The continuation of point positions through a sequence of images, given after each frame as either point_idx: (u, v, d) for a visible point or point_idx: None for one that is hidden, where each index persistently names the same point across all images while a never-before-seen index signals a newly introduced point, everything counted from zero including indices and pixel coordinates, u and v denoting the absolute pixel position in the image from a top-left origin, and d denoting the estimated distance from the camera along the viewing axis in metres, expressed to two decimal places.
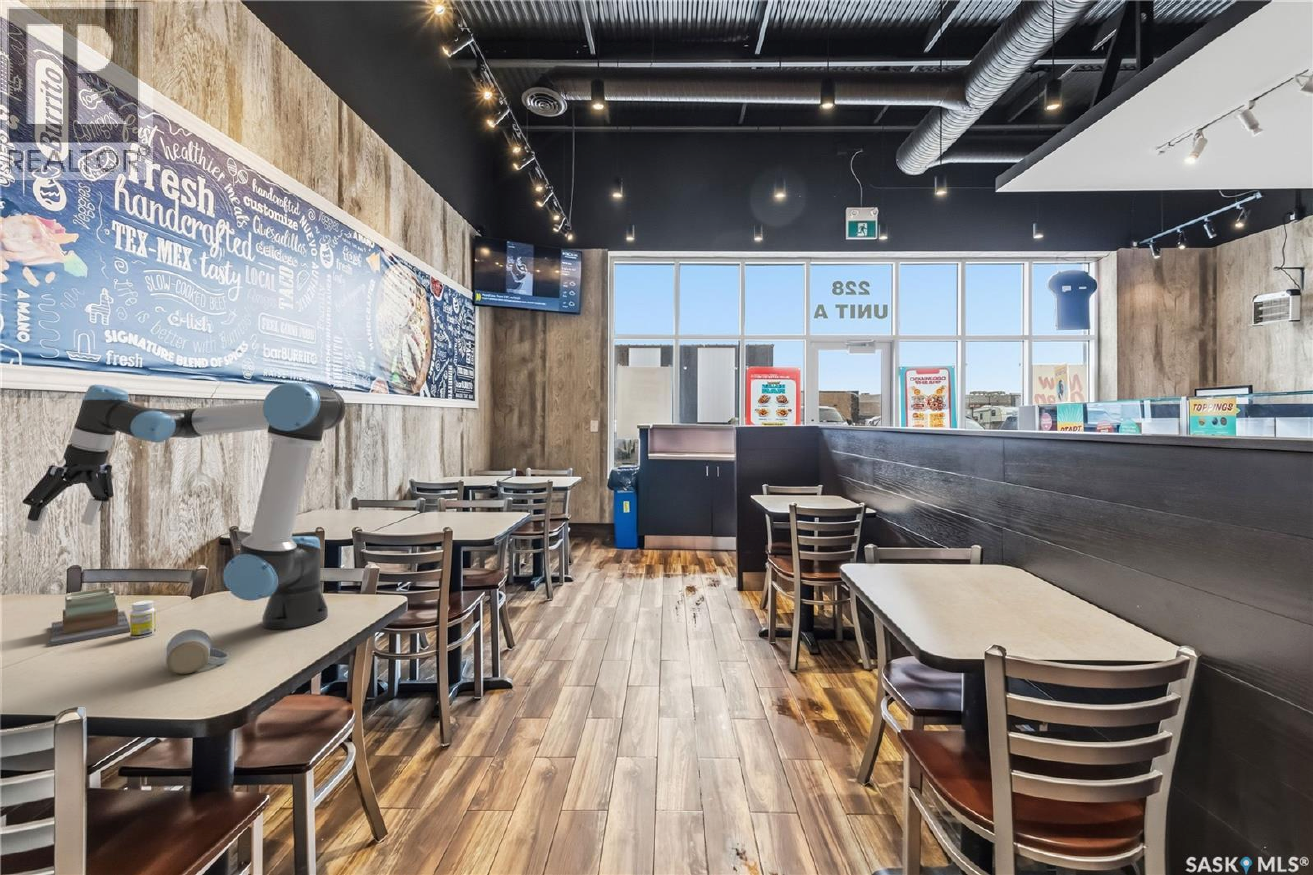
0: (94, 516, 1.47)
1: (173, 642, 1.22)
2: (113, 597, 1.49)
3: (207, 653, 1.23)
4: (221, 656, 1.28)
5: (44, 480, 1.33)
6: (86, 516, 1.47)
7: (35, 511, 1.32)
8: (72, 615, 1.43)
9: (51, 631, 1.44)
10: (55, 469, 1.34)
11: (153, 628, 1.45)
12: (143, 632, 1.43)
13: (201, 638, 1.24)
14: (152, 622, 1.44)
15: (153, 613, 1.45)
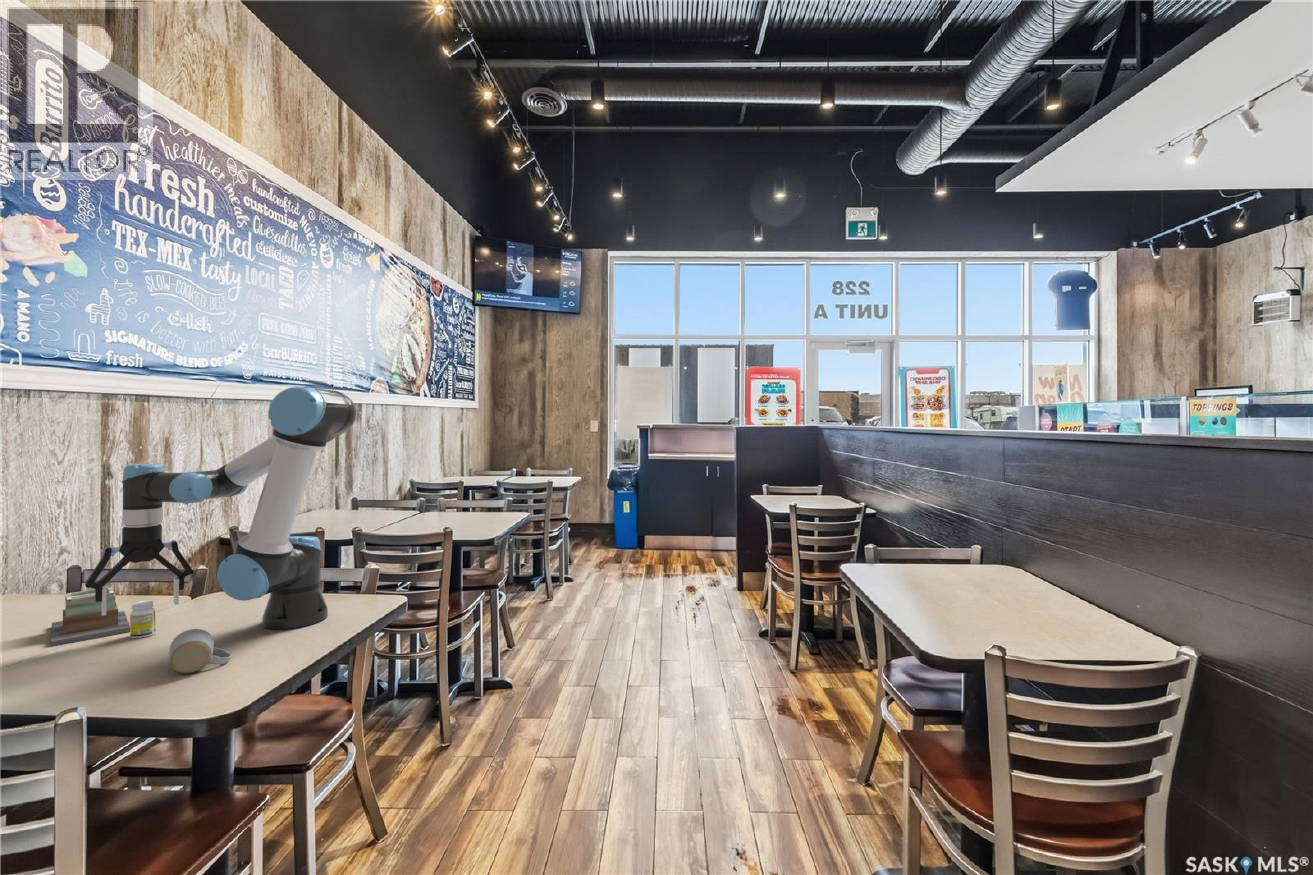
0: (175, 594, 1.48)
1: (176, 641, 1.22)
2: (113, 597, 1.49)
3: (210, 652, 1.23)
4: (224, 656, 1.29)
5: (99, 561, 1.39)
6: (174, 595, 1.49)
7: (95, 593, 1.38)
8: (72, 615, 1.43)
9: (51, 631, 1.44)
10: (104, 549, 1.39)
11: (153, 628, 1.45)
12: (143, 632, 1.43)
13: (204, 637, 1.24)
14: (152, 622, 1.44)
15: (153, 613, 1.45)
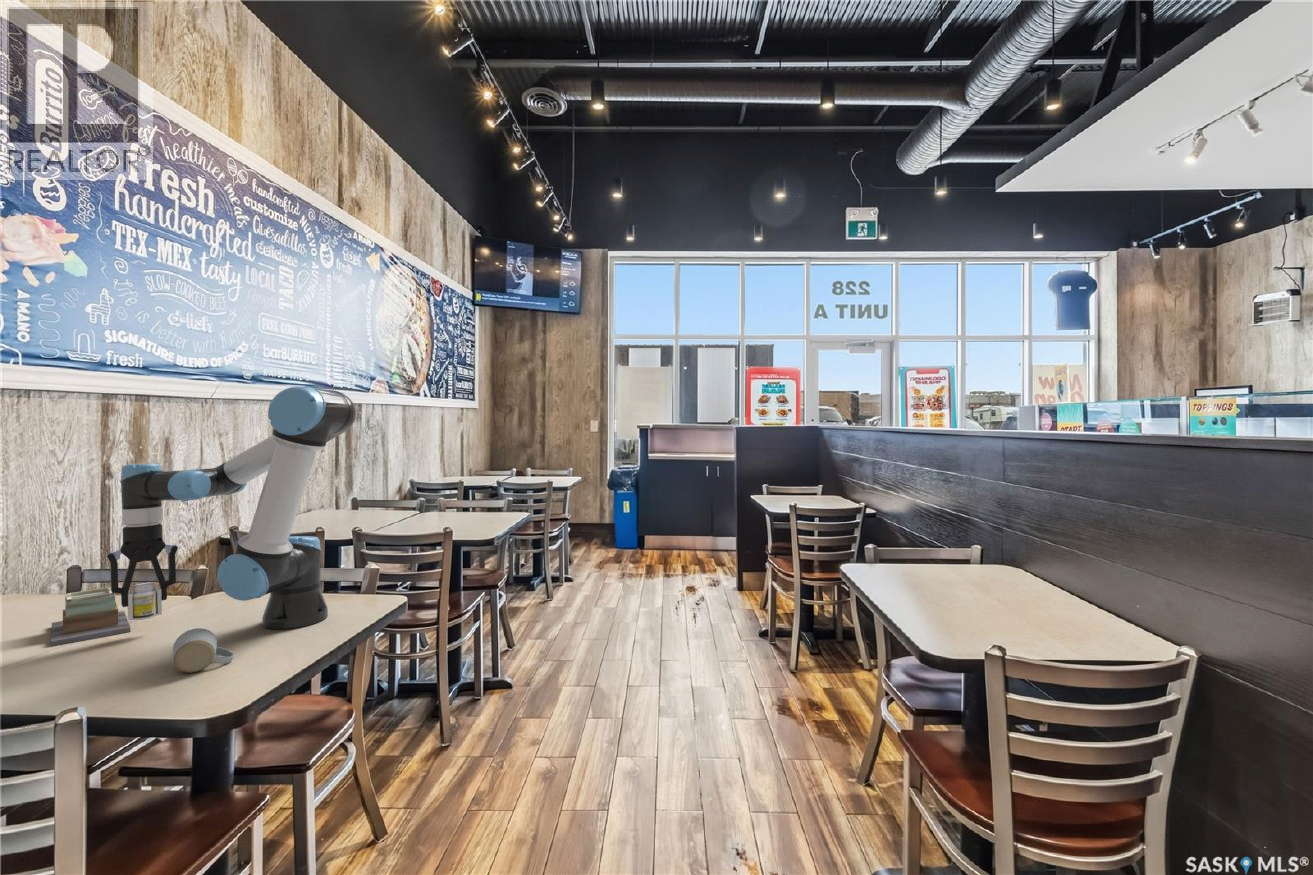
0: (158, 605, 1.45)
1: (179, 641, 1.22)
2: (113, 597, 1.49)
3: (213, 652, 1.23)
4: (227, 655, 1.29)
5: (110, 568, 1.40)
6: (157, 606, 1.46)
7: (121, 598, 1.41)
8: (72, 615, 1.43)
9: (51, 631, 1.44)
10: None
11: (155, 610, 1.45)
12: (145, 613, 1.42)
13: (207, 637, 1.24)
14: (153, 603, 1.44)
15: (155, 595, 1.45)
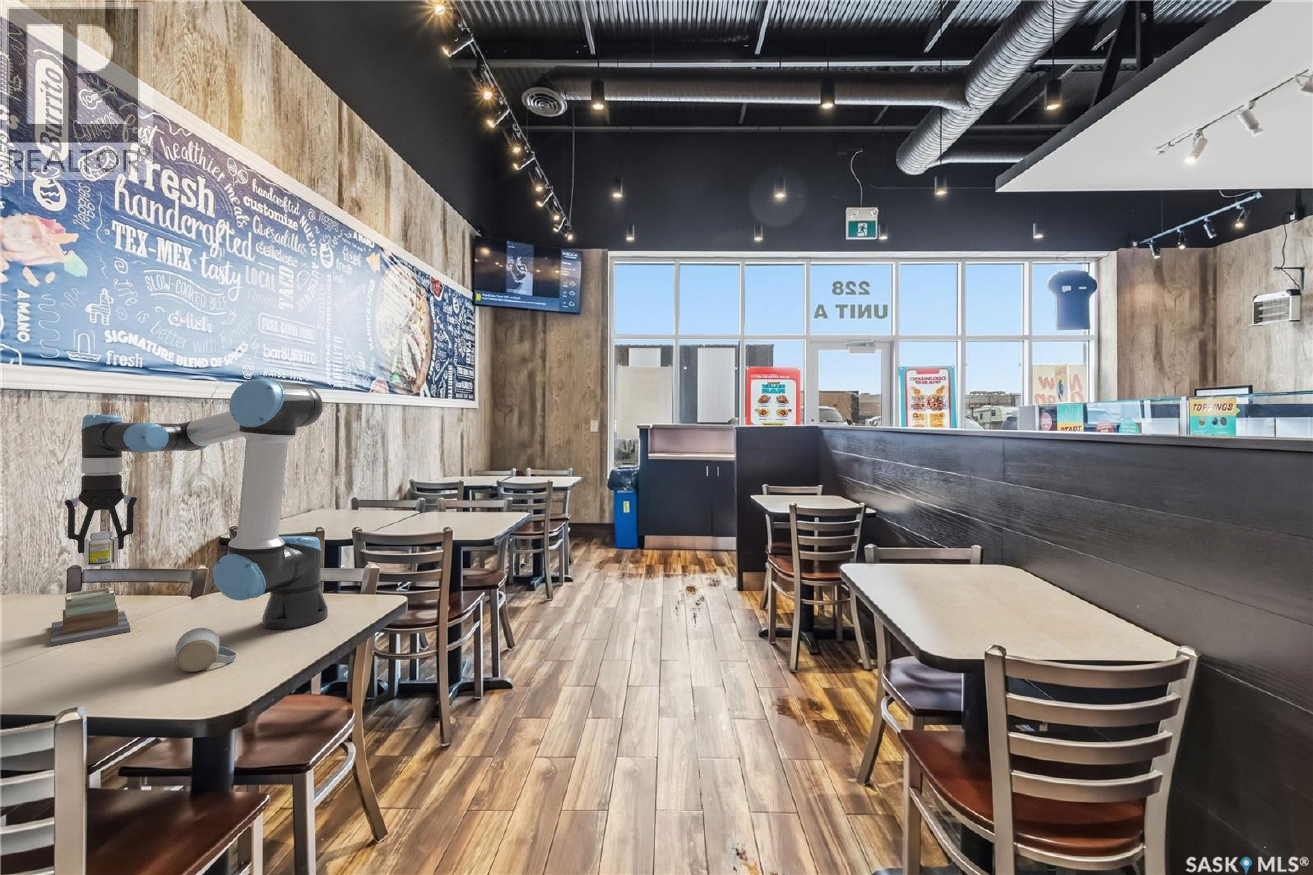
0: (114, 553, 1.48)
1: (182, 640, 1.23)
2: (113, 597, 1.49)
3: (216, 651, 1.23)
4: (229, 654, 1.29)
5: None
6: None
7: None
8: (72, 615, 1.43)
9: (51, 631, 1.44)
10: (65, 503, 1.42)
11: (111, 558, 1.48)
12: (100, 560, 1.46)
13: (210, 636, 1.25)
14: (110, 551, 1.48)
15: (111, 543, 1.48)
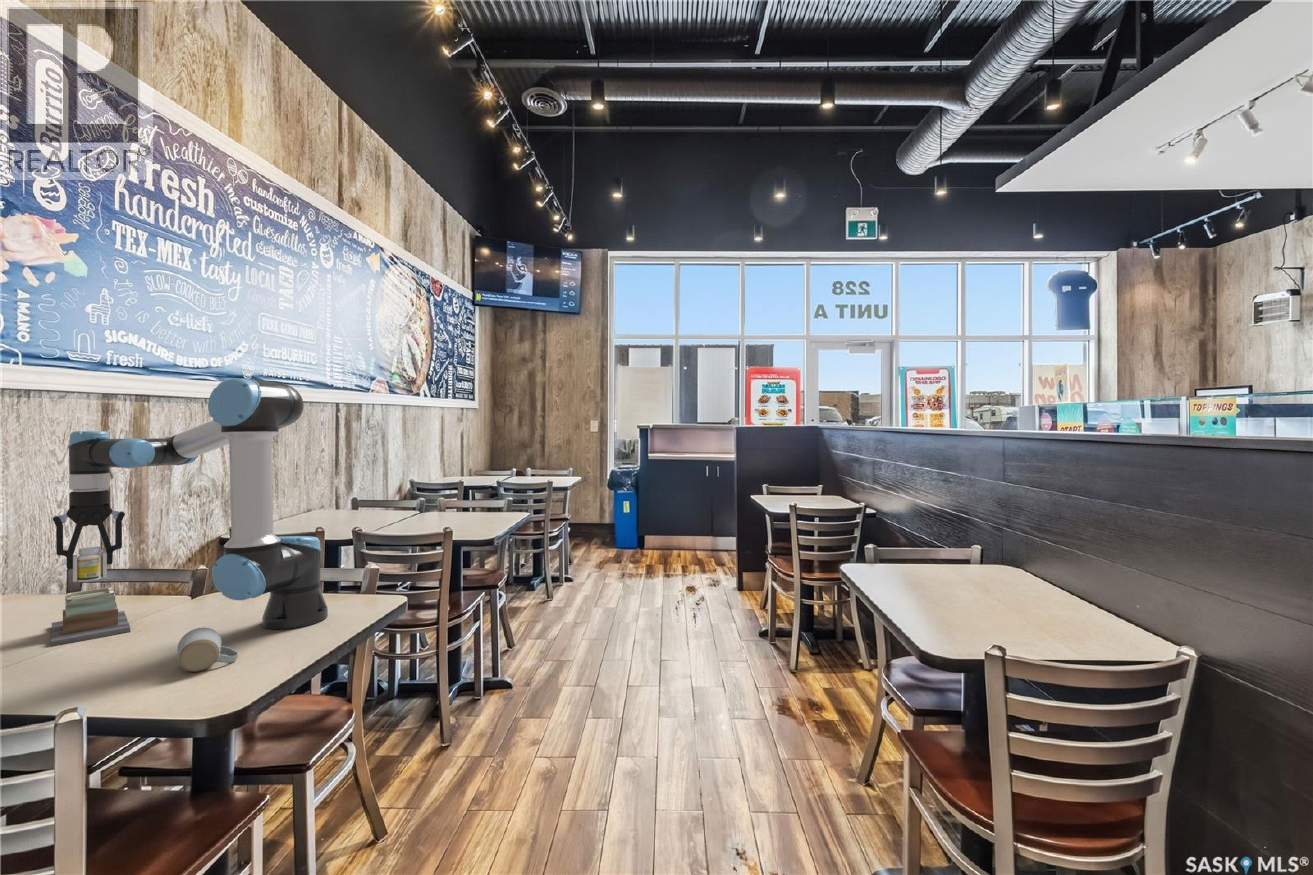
0: (103, 568, 1.50)
1: (184, 640, 1.23)
2: (113, 597, 1.49)
3: (218, 651, 1.24)
4: (231, 654, 1.29)
5: (56, 531, 1.45)
6: None
7: (66, 560, 1.45)
8: (72, 615, 1.43)
9: (51, 631, 1.44)
10: (53, 519, 1.44)
11: (100, 573, 1.49)
12: (89, 576, 1.47)
13: (211, 636, 1.25)
14: (98, 566, 1.49)
15: (100, 558, 1.49)
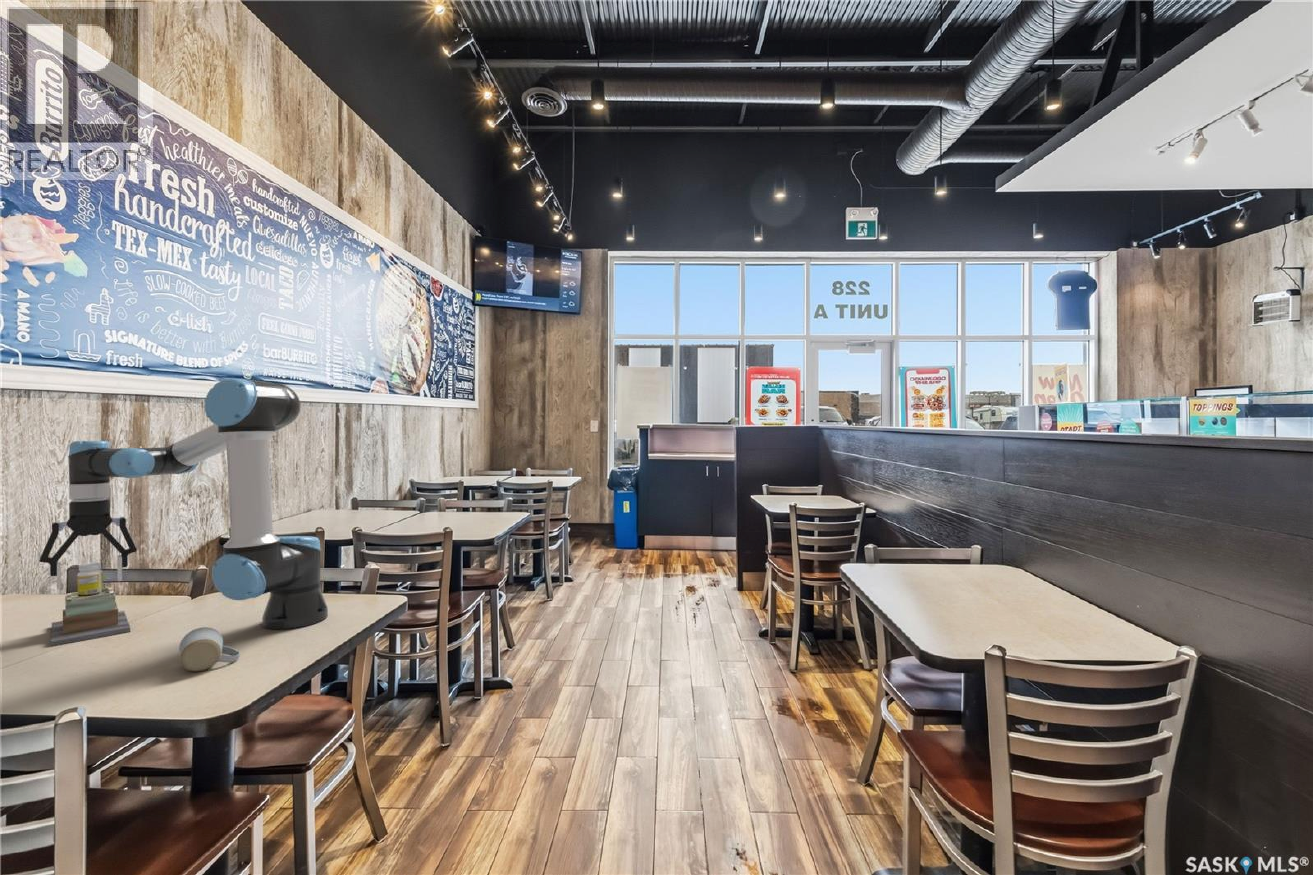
0: (118, 571, 1.52)
1: (186, 640, 1.23)
2: (113, 597, 1.49)
3: (219, 651, 1.24)
4: (233, 654, 1.30)
5: (49, 537, 1.44)
6: (117, 572, 1.53)
7: (50, 567, 1.43)
8: (72, 615, 1.43)
9: (51, 631, 1.44)
10: (52, 525, 1.43)
11: (101, 589, 1.49)
12: (90, 592, 1.47)
13: (213, 636, 1.25)
14: (99, 583, 1.49)
15: (100, 574, 1.49)
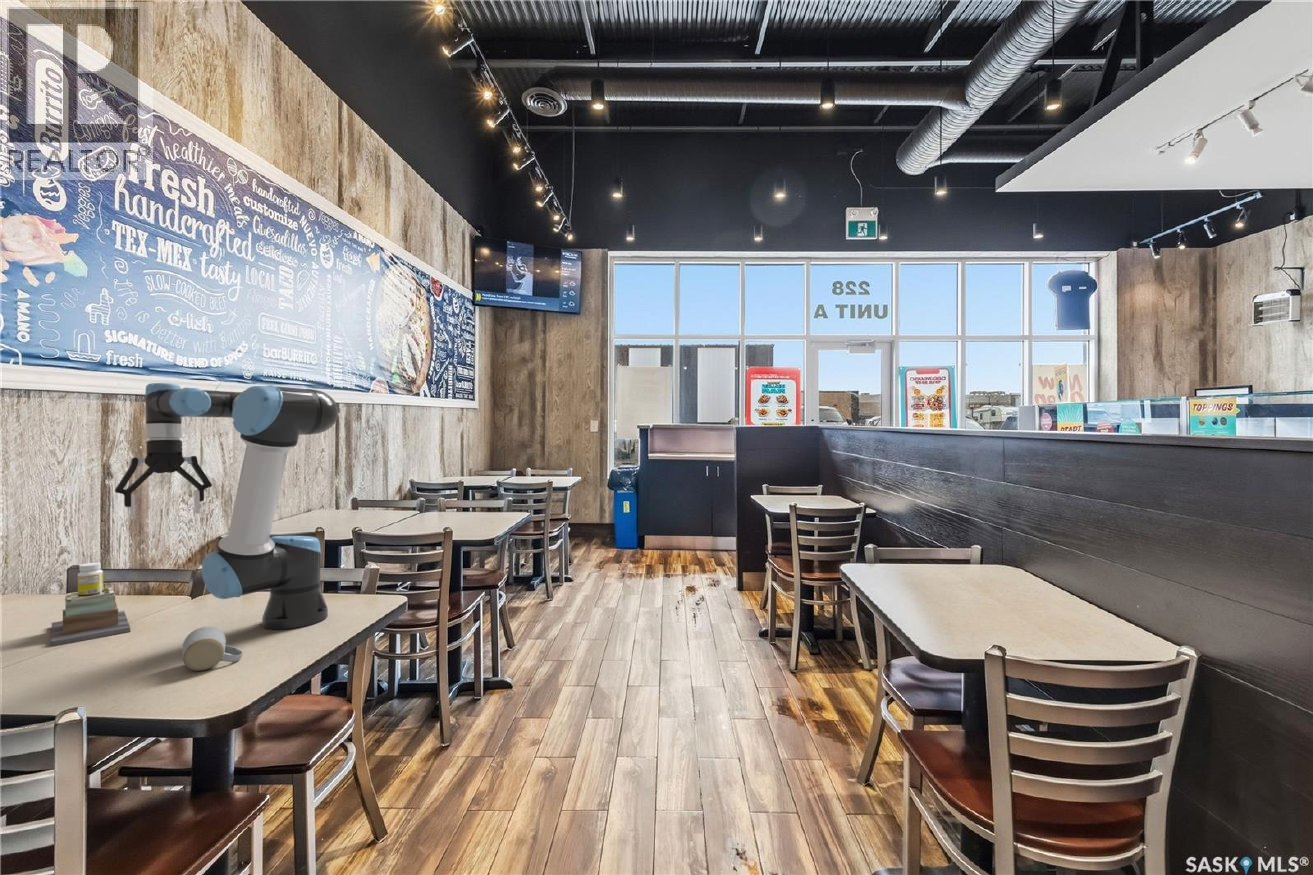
0: (196, 504, 1.62)
1: (189, 639, 1.24)
2: (113, 597, 1.49)
3: (222, 650, 1.24)
4: (236, 653, 1.30)
5: (127, 471, 1.52)
6: (195, 506, 1.63)
7: (125, 498, 1.51)
8: (72, 615, 1.43)
9: (51, 631, 1.44)
10: (131, 459, 1.52)
11: (101, 589, 1.49)
12: (90, 592, 1.47)
13: (216, 635, 1.25)
14: (99, 583, 1.49)
15: (101, 574, 1.49)
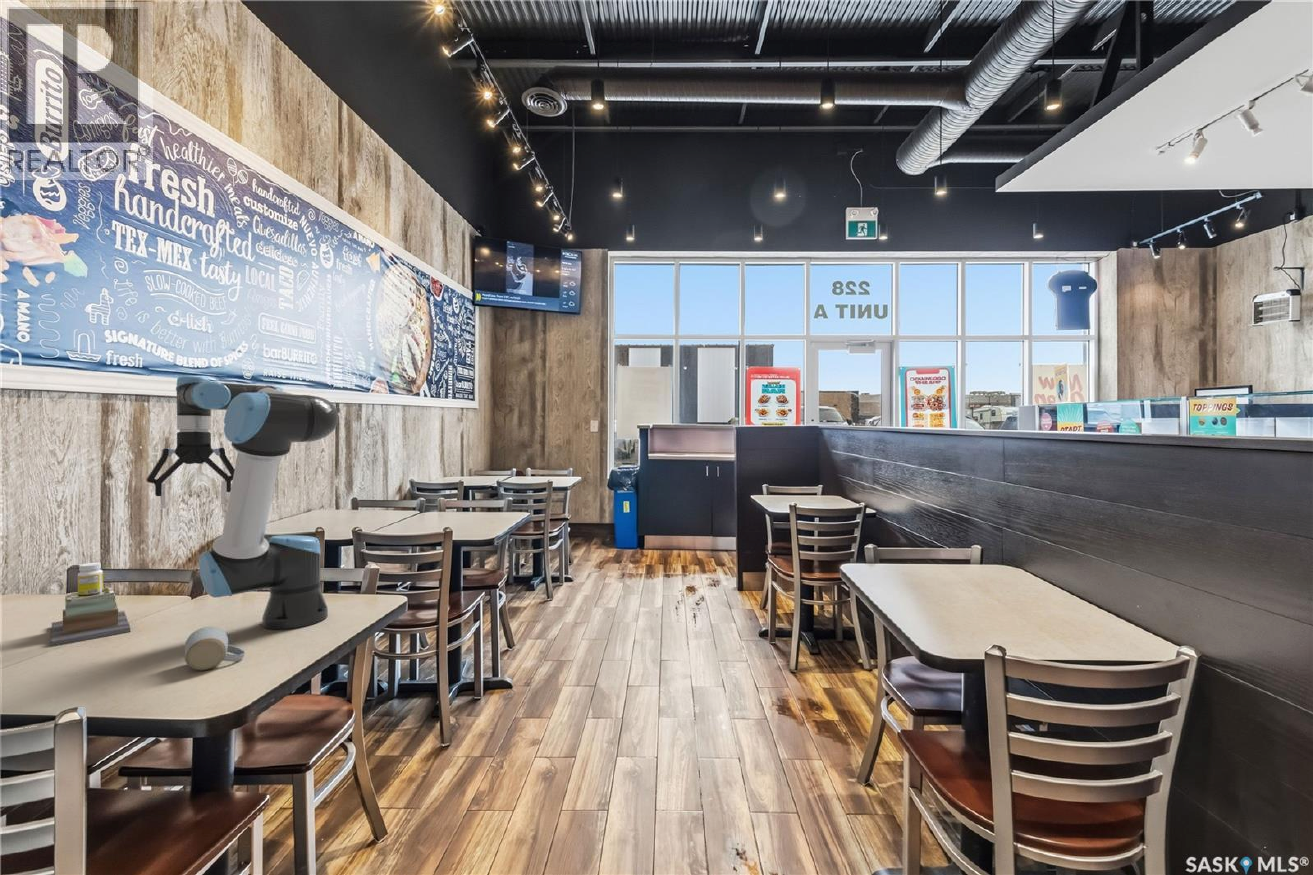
0: (223, 495, 1.66)
1: (191, 639, 1.24)
2: (113, 597, 1.49)
3: (224, 650, 1.24)
4: (238, 653, 1.30)
5: (158, 461, 1.56)
6: (222, 497, 1.67)
7: (155, 488, 1.55)
8: (72, 615, 1.43)
9: (51, 631, 1.44)
10: (162, 450, 1.57)
11: (101, 589, 1.49)
12: (90, 592, 1.47)
13: (218, 635, 1.26)
14: (99, 583, 1.49)
15: (101, 574, 1.49)
